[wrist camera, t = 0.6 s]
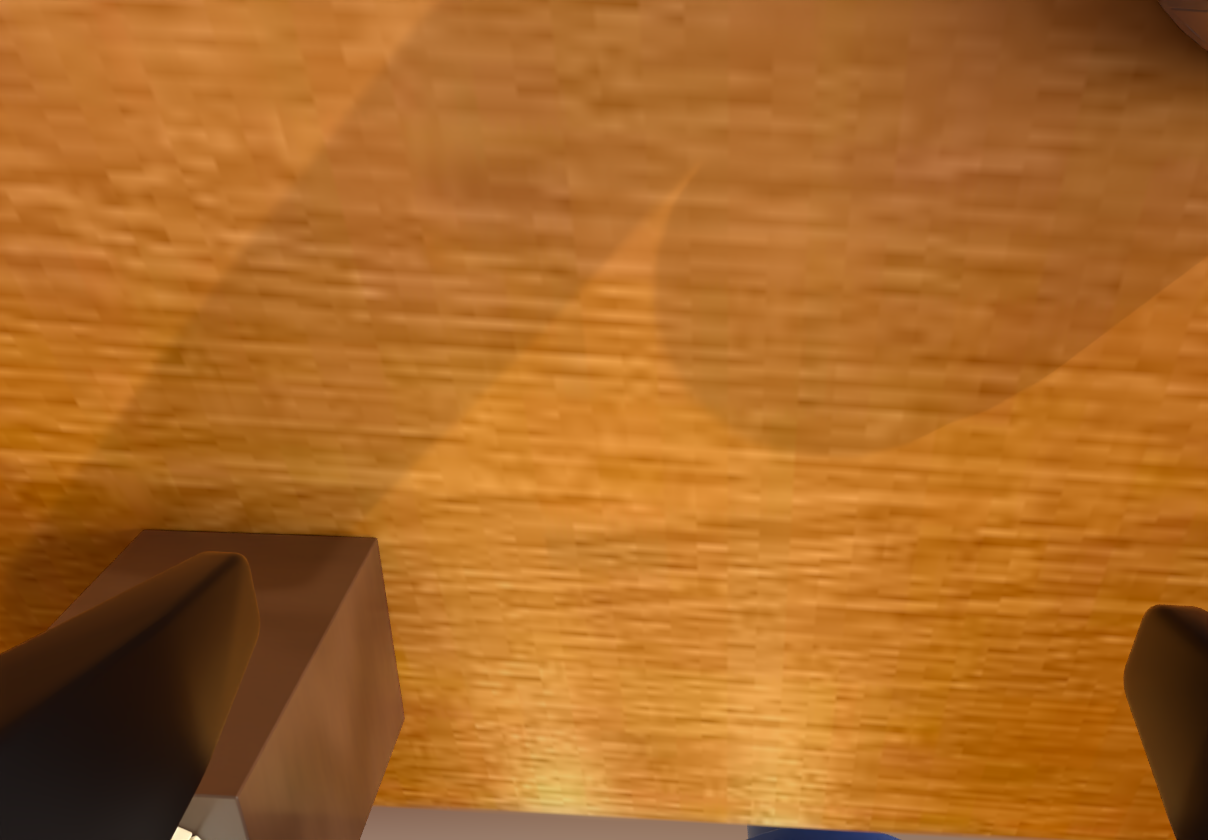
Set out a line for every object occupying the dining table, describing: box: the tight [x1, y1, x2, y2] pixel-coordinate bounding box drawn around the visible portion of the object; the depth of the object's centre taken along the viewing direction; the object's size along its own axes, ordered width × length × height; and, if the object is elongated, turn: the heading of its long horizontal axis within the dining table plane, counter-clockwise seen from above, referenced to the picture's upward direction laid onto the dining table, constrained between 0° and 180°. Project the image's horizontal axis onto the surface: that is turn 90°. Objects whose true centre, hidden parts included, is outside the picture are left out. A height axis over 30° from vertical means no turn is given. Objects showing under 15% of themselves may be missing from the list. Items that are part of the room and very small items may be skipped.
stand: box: [46, 530, 405, 840], centre depth 23 cm, size 7×7×9 cm
